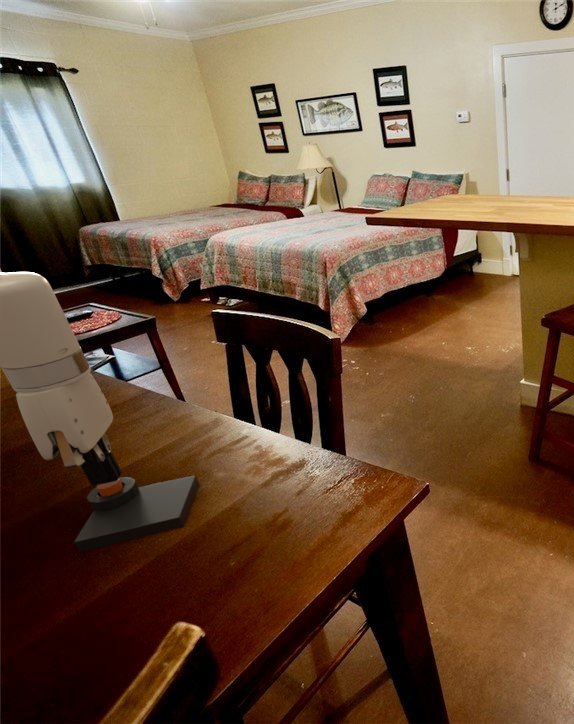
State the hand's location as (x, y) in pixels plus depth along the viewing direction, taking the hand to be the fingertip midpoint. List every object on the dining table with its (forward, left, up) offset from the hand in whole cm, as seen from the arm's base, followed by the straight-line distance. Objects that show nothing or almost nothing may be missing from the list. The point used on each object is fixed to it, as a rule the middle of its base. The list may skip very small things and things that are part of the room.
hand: (107, 479), depth 69 cm
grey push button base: (+4, -3, -5) cm, 7 cm away
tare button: (0, 0, -2) cm, 2 cm away
